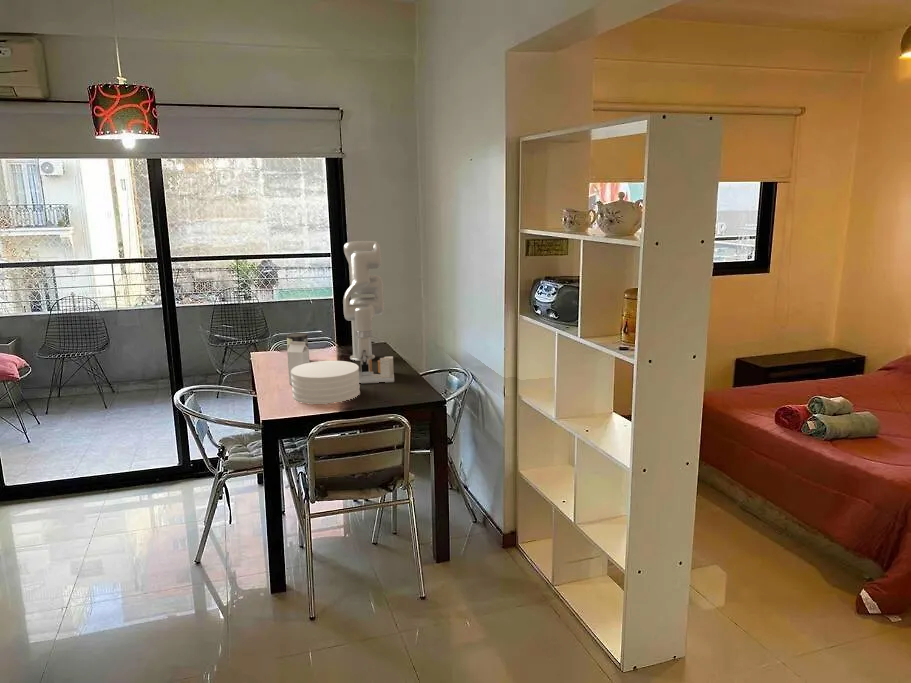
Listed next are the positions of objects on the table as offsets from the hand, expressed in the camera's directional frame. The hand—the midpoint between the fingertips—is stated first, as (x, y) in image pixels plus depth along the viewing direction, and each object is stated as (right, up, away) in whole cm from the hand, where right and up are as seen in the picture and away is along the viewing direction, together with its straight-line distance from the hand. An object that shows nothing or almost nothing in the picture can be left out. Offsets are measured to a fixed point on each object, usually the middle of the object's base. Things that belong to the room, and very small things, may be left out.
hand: (365, 369), depth 318 cm
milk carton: (-28, -6, -11) cm, 30 cm away
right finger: (0, -2, +1) cm, 3 cm away
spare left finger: (+11, -2, +2) cm, 11 cm away
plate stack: (-13, -10, -29) cm, 33 cm away
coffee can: (-37, +3, +27) cm, 46 cm away
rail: (+2, -5, -9) cm, 11 cm away
